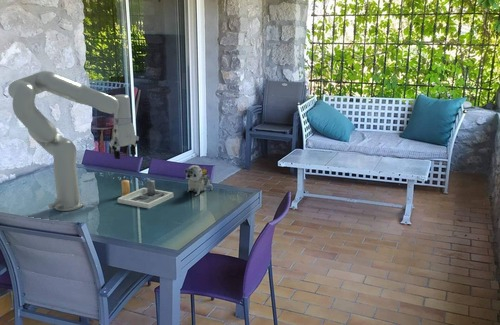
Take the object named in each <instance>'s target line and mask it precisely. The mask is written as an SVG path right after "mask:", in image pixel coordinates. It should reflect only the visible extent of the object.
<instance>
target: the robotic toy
mask: <svg viewBox="0 0 500 325" xmlns="http://www.w3.org/2000/svg"><path fill="white" fill-rule="evenodd" d="M207 168H208V167H206V166H204V167H202V168H201V167H200V166H199V165H197V164H196V165H190V166H189V167H188V168H187V167H186V168H185V170H184V173H185V175H186V176H185V180H187V184H188V190H187V191H186V192H187V193H189V192H194V193H196V194H194V196H195V197H197V196H199V195H200V193H201V192H203V191H204V190H205V189H206V188H208V187H209V188H210V190H211V191H213V190H214V186H213V184H212V183H211V182H210V174H208V171H209V170H208V169H207Z"/></svg>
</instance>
